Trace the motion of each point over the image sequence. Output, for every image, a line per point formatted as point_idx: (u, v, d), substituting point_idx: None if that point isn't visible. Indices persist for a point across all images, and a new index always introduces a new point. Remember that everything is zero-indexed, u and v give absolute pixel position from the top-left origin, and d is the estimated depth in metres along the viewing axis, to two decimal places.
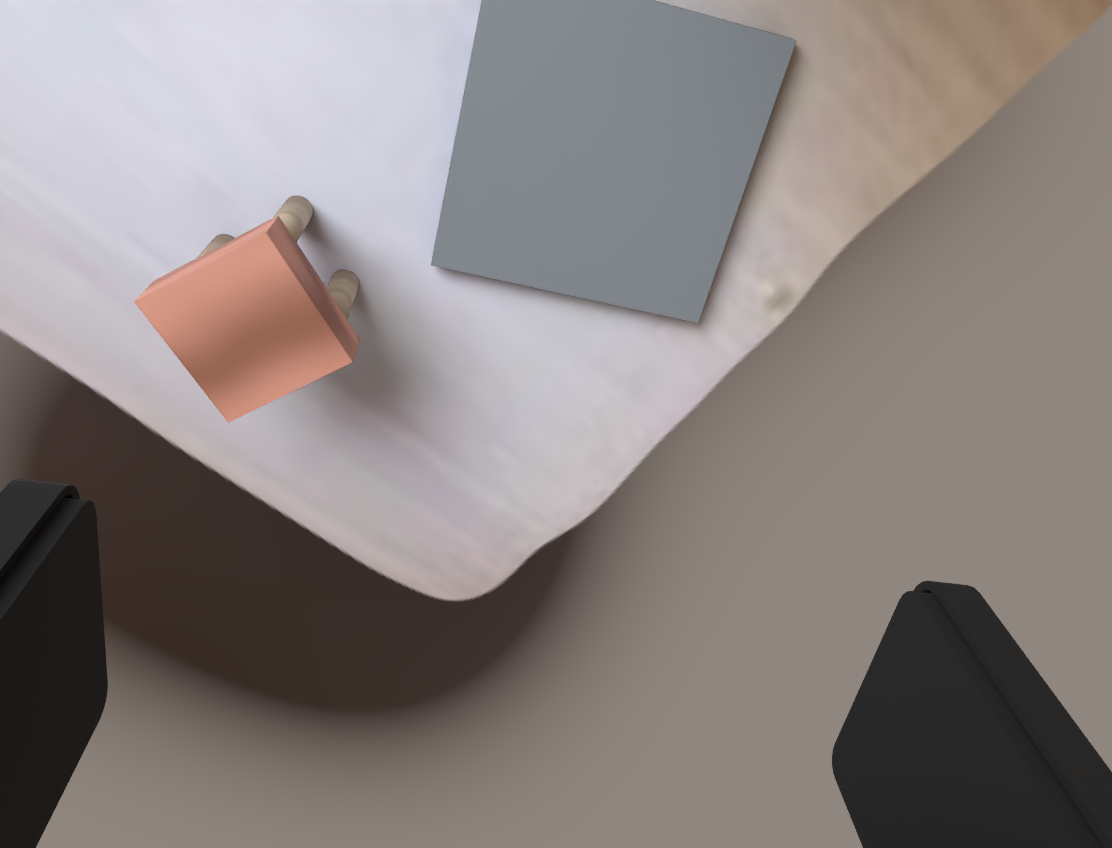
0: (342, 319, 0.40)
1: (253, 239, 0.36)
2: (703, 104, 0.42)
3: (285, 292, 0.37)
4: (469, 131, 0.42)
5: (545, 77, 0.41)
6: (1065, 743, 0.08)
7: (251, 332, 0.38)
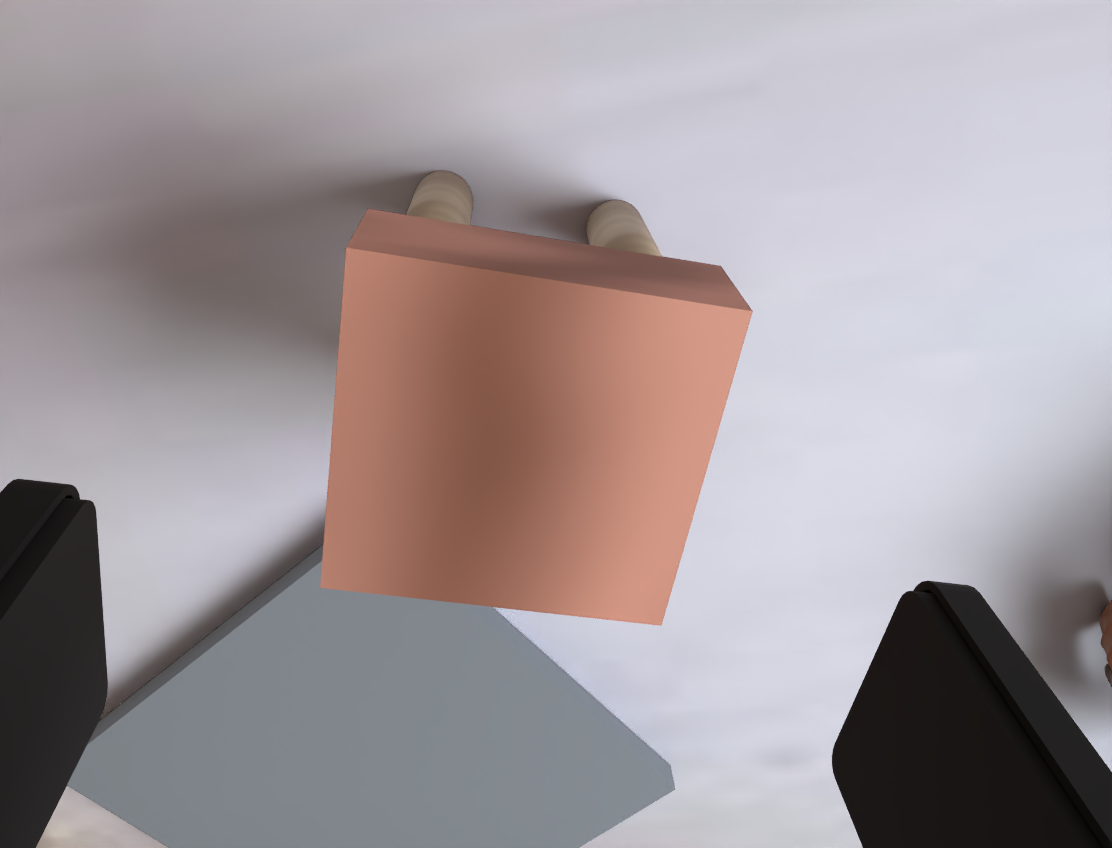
0: None
1: (667, 597, 0.17)
2: None
3: (541, 579, 0.17)
4: (517, 673, 0.27)
5: (513, 773, 0.29)
6: (1065, 743, 0.08)
7: (514, 467, 0.16)
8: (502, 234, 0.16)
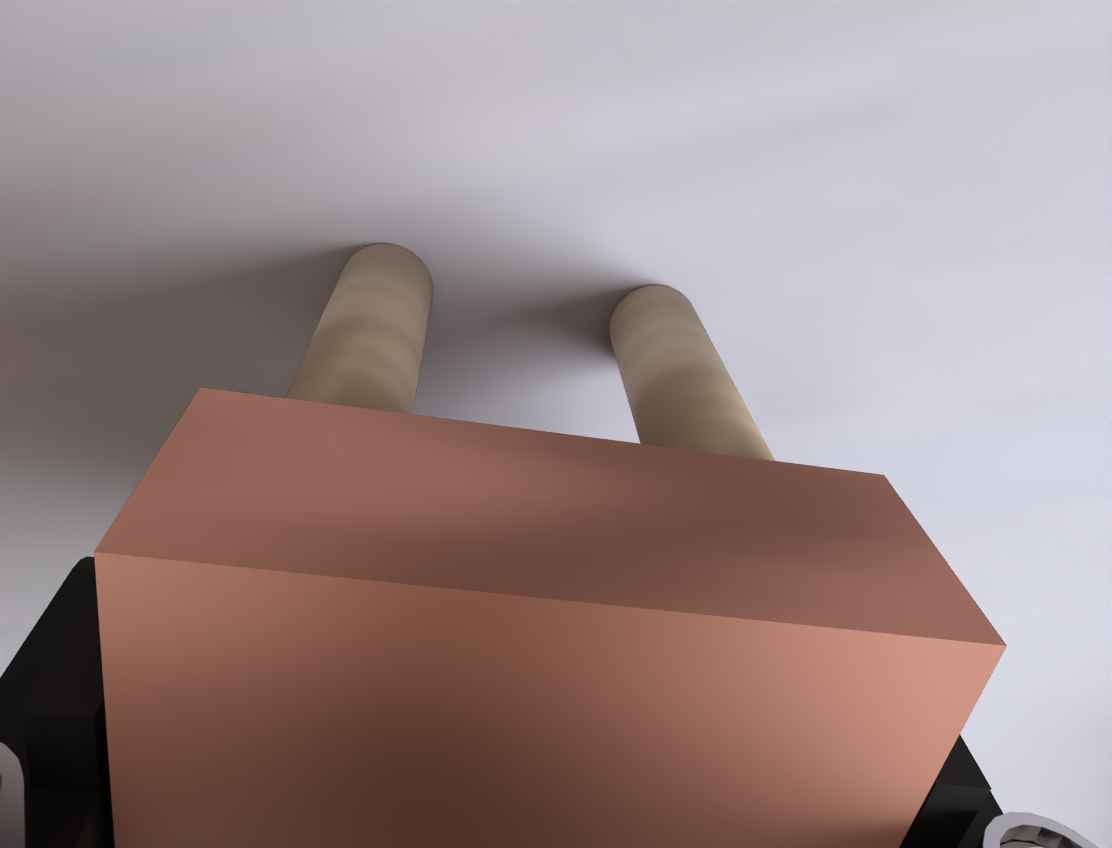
0: None
1: None
2: None
3: None
4: None
5: None
6: None
7: None
8: (471, 434, 0.08)
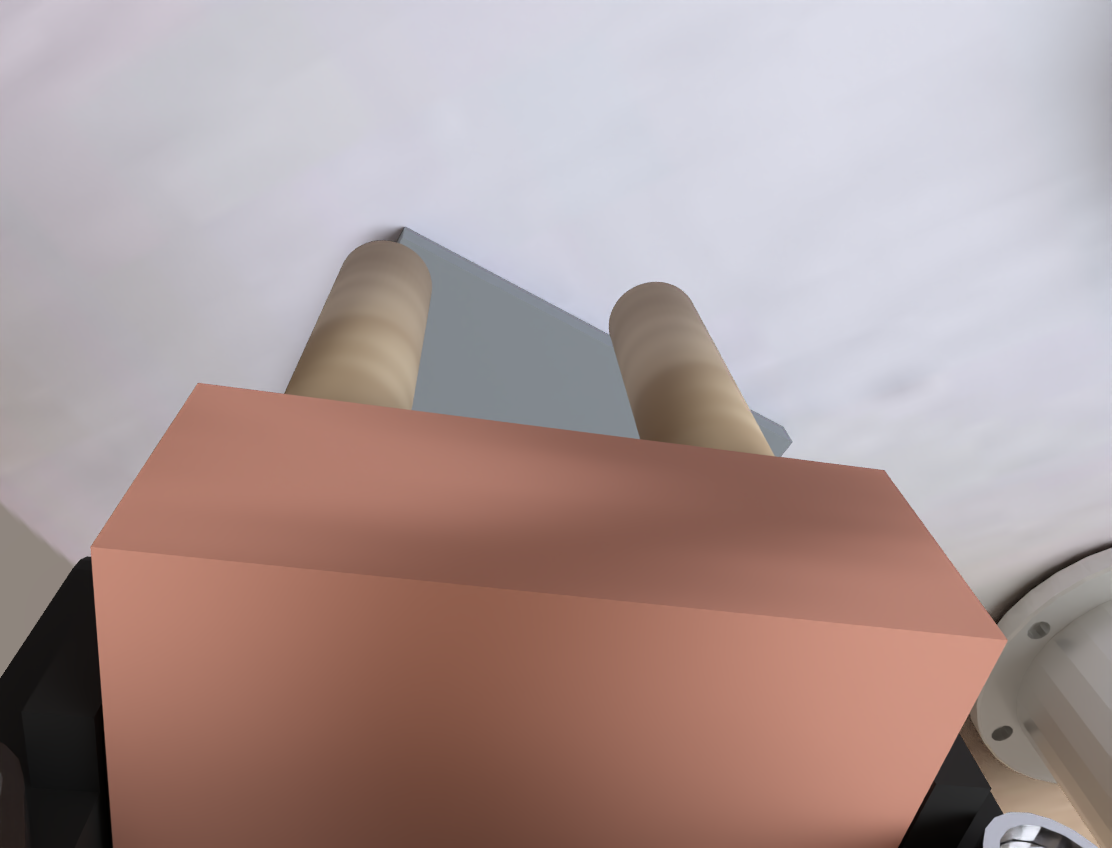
0: None
1: None
2: None
3: None
4: (595, 358, 0.28)
5: None
6: None
7: None
8: (470, 429, 0.08)
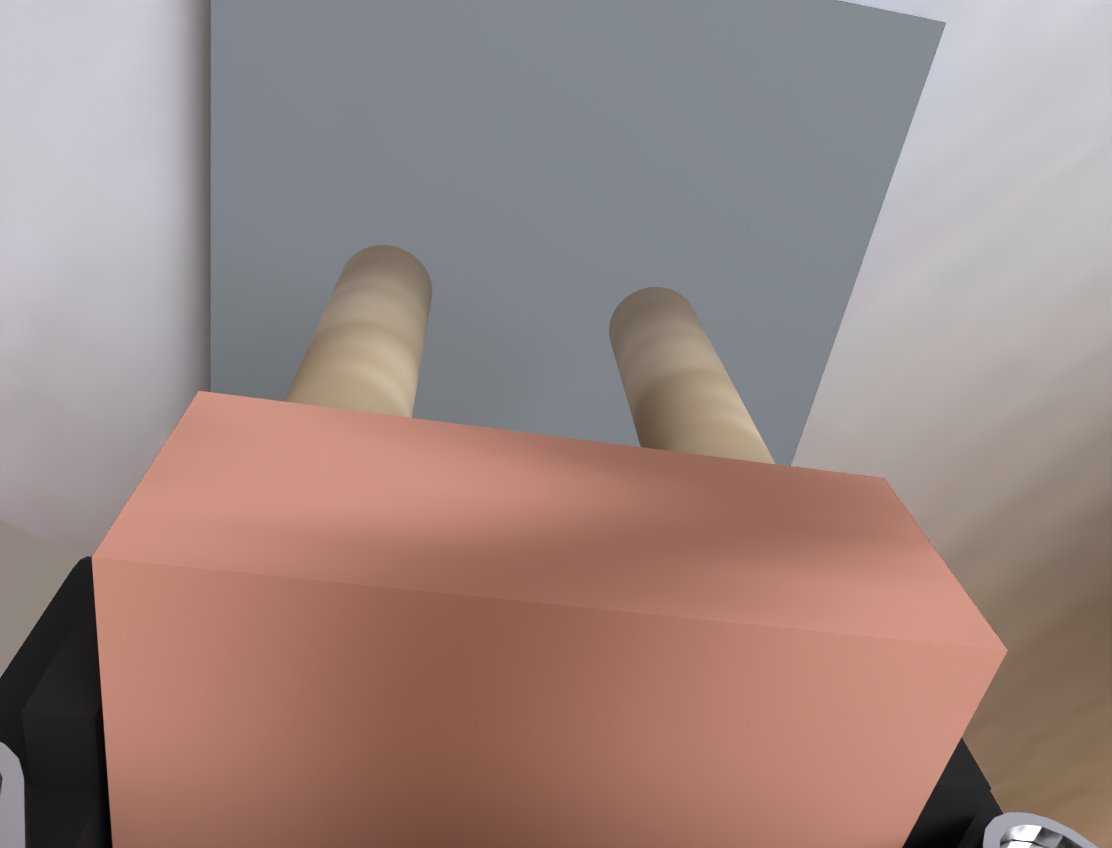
0: None
1: None
2: None
3: None
4: None
5: (697, 161, 0.19)
6: None
7: None
8: (471, 437, 0.08)
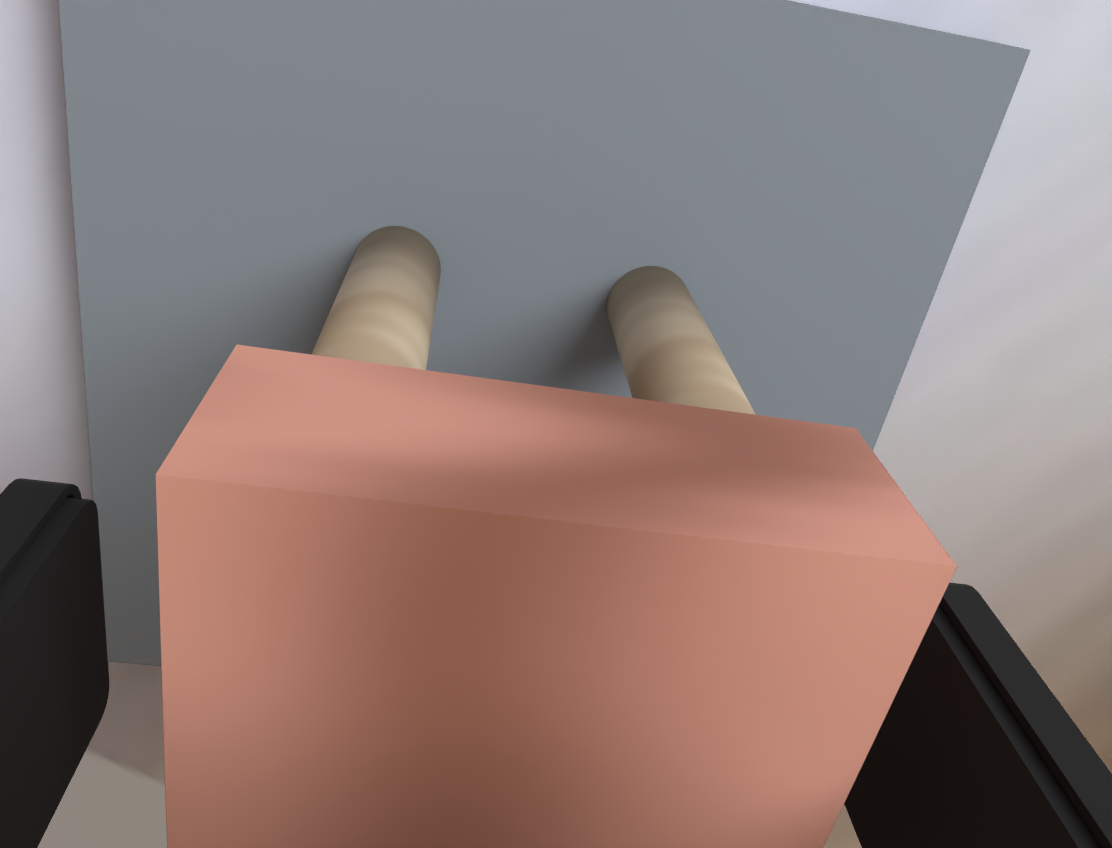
0: None
1: None
2: None
3: None
4: None
5: (708, 226, 0.15)
6: (1063, 742, 0.08)
7: (502, 813, 0.09)
8: (480, 387, 0.09)
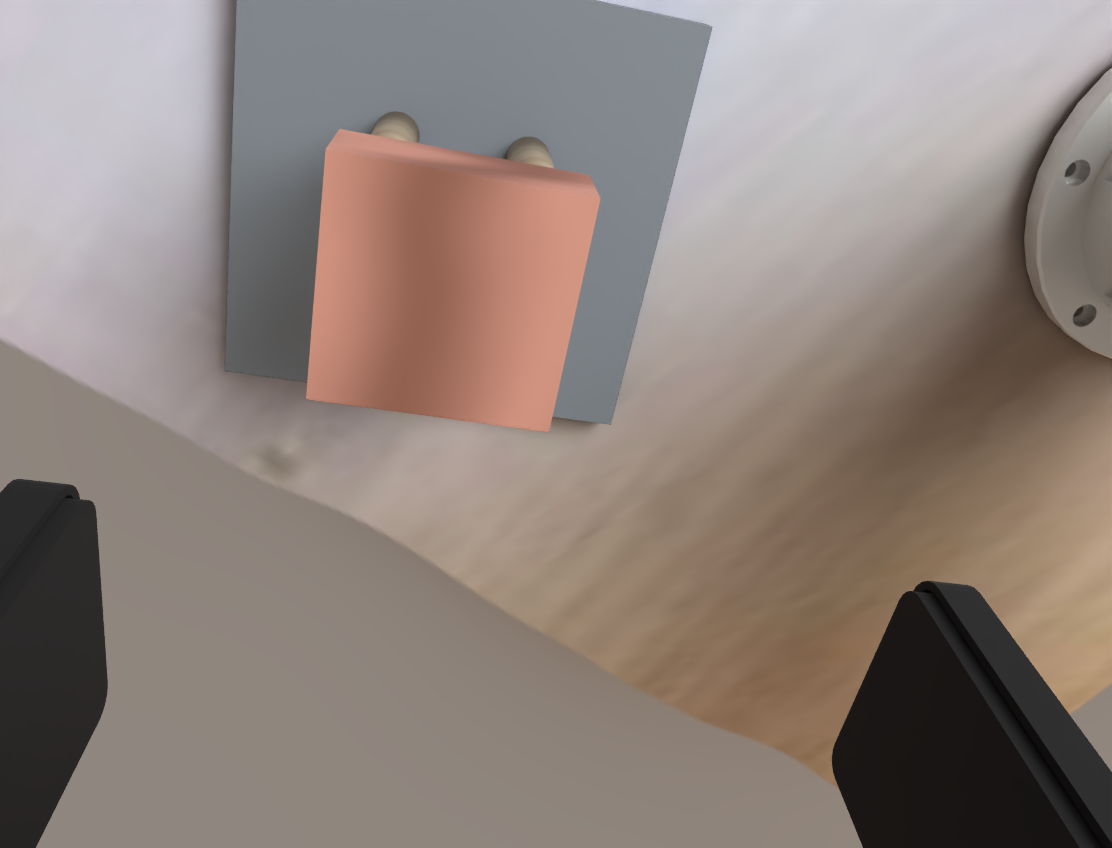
0: None
1: (552, 410, 0.24)
2: None
3: (462, 395, 0.24)
4: None
5: (557, 115, 0.29)
6: (1065, 743, 0.08)
7: (441, 309, 0.23)
8: (434, 148, 0.23)
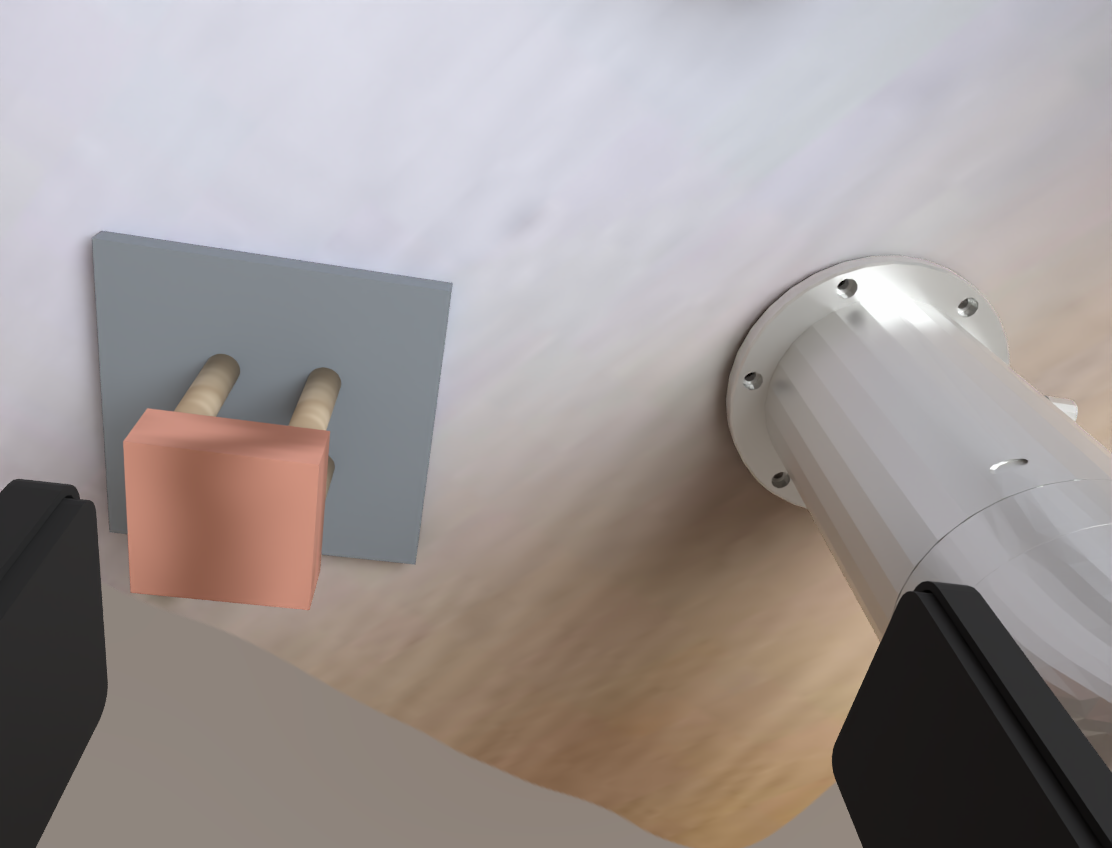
0: None
1: (310, 595, 0.34)
2: (344, 500, 0.42)
3: (242, 587, 0.33)
4: (269, 278, 0.36)
5: (342, 353, 0.38)
6: (1065, 743, 0.08)
7: (218, 534, 0.32)
8: (214, 419, 0.32)
